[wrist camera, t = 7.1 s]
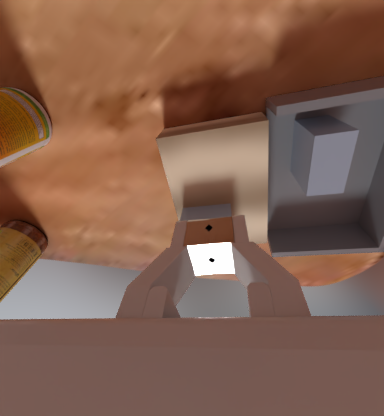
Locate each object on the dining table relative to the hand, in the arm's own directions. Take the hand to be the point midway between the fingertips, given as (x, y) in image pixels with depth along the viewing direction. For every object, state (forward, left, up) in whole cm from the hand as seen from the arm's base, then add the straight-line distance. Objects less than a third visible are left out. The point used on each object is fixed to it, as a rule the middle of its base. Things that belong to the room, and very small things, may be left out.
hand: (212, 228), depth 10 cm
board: (+4, 0, -12) cm, 13 cm away
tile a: (+1, +7, -9) cm, 11 cm away
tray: (+4, +9, -12) cm, 16 cm away
